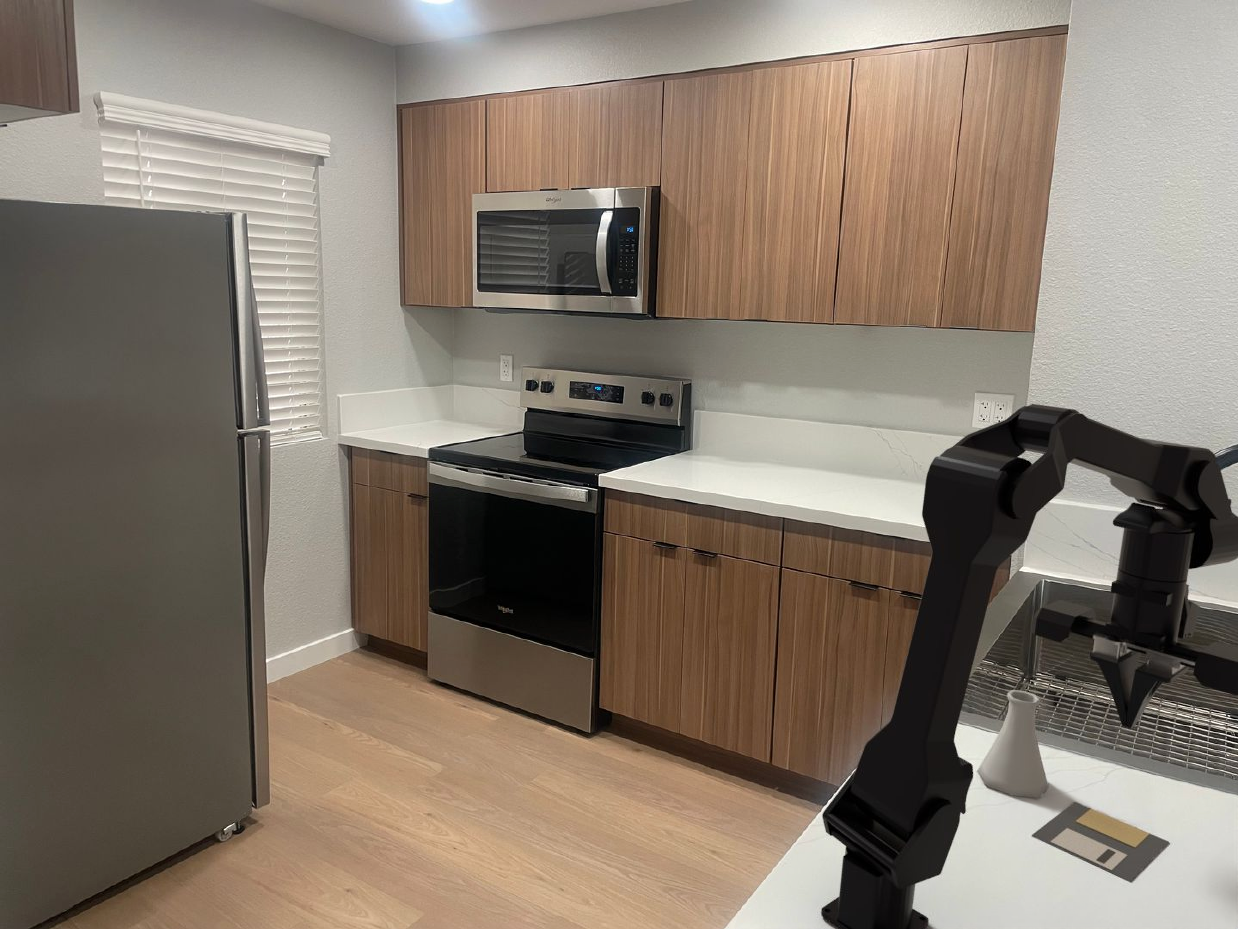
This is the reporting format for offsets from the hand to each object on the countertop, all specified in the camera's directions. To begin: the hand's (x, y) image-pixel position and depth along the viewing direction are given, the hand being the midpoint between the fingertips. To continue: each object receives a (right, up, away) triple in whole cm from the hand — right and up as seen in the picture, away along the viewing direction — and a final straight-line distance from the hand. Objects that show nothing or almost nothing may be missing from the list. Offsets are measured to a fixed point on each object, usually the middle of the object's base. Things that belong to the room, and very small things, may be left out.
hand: (1128, 726), depth 89 cm
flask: (-7, -9, +10) cm, 16 cm away
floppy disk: (-3, -11, 0) cm, 11 cm away
